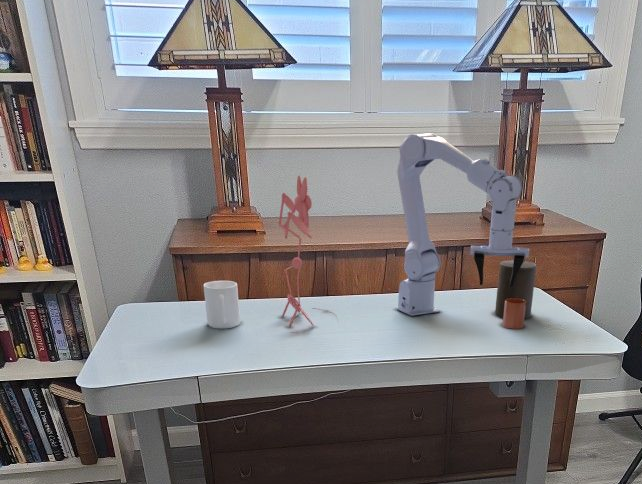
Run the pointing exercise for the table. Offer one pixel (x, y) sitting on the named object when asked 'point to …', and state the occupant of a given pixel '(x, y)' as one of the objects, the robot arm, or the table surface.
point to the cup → (222, 304)
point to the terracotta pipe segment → (514, 313)
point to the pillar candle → (515, 285)
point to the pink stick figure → (302, 223)
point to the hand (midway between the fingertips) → (496, 284)
